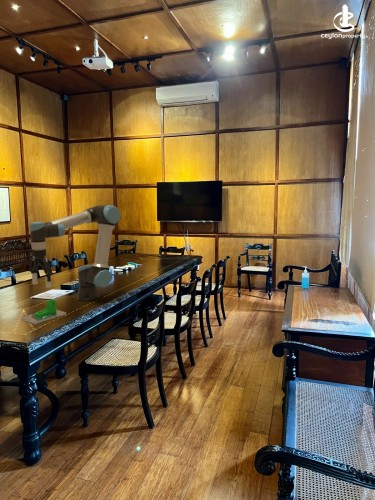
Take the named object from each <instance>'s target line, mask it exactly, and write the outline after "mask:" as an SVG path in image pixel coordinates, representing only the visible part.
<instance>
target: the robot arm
mask: <svg viewBox="0 0 375 500" xmlns="http://www.w3.org/2000/svg"><path fill="white" fill-rule="evenodd" d="M120 219H121V213H120V210H119V209H118V208H117V206H115V205H110V204H106V205H105V204H104V205H101V204H99V205H95V206H92V207H90V208H86V209H84V210H82V211H81V212H78V213H75V214H71V215H68V216H64V217H61V218H57V219H54V220H50V221H47V222H44V221H33V222H32V221H31V222H30V223H29V232H30V242H31V243H30V245H31V257H30V265H29V269H28V272H29V273H30V274H31V280H32V282H31V283H32V285H38V271H37V270H38V268H39V267H41V268H42V270H43V272H44V276H45V277H44V278H45V288H46V289H48V288H52V276H53V275H54V273H53V270H52V266H51V264H50V260H49V258H47V257H46V256H47V249H46V248H47V243H46V239H48V238H49V239H50V238H60V237H64V236H65V234H66V230H67V229H71V228H75V227H77V226H80V225H84V224H88V225H89V224H91V223H92V224H93V223H97V226H98V235H97V236H98V237H97V241H96V249H95V255H94V262H93V263H92V264H88V265H82V266H81V265H80V266H78V268H77V275H78V276H77V277H78V291H77V294H76V300H78V301H80V302H90V301H91V302H92V301H95V300H99V299H100V298H101V296H100V293H99V289H98V288H105V287H107V286H108V285H110V284H111V281H112V278H113V276H112V275H113V274H112V273H111V271H110V266H109V264H108V263H109V256H110V250H111V243H112V236H113V230H114V228H116V224H117V223H118V222H119V221H120Z"/></svg>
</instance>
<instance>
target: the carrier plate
mask: <svg viewBox="0 0 375 500" xmlns="http://www.w3.org/2000/svg"><path fill="white" fill-rule="evenodd" d="M65 315H67V312H65V311H62V310H59V309H57V312H55V313H52V314H50V315H47V316H45V317H42V318H37V317H35V313H31V314H28V315H26V316H22V317H20V319H21V320H22V321H25V322H27V323H30V324H33V325H37V324H39V323H42V322H43V321H44V322H46V320H47V321H50V320H52V319H55V318H60V317H62V316H65Z"/></svg>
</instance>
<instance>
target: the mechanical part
mask: <svg viewBox="0 0 375 500" xmlns="http://www.w3.org/2000/svg"><path fill="white" fill-rule="evenodd" d="M57 310H58V309H57V302H56V300H54V299H49V300H47V301H46V308H43V309H41V310H38V311H36V312H35V313H34V314H35V317H37V318H42V317H45V316H47V315H50V314H52V313H55V312H57Z"/></svg>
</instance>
